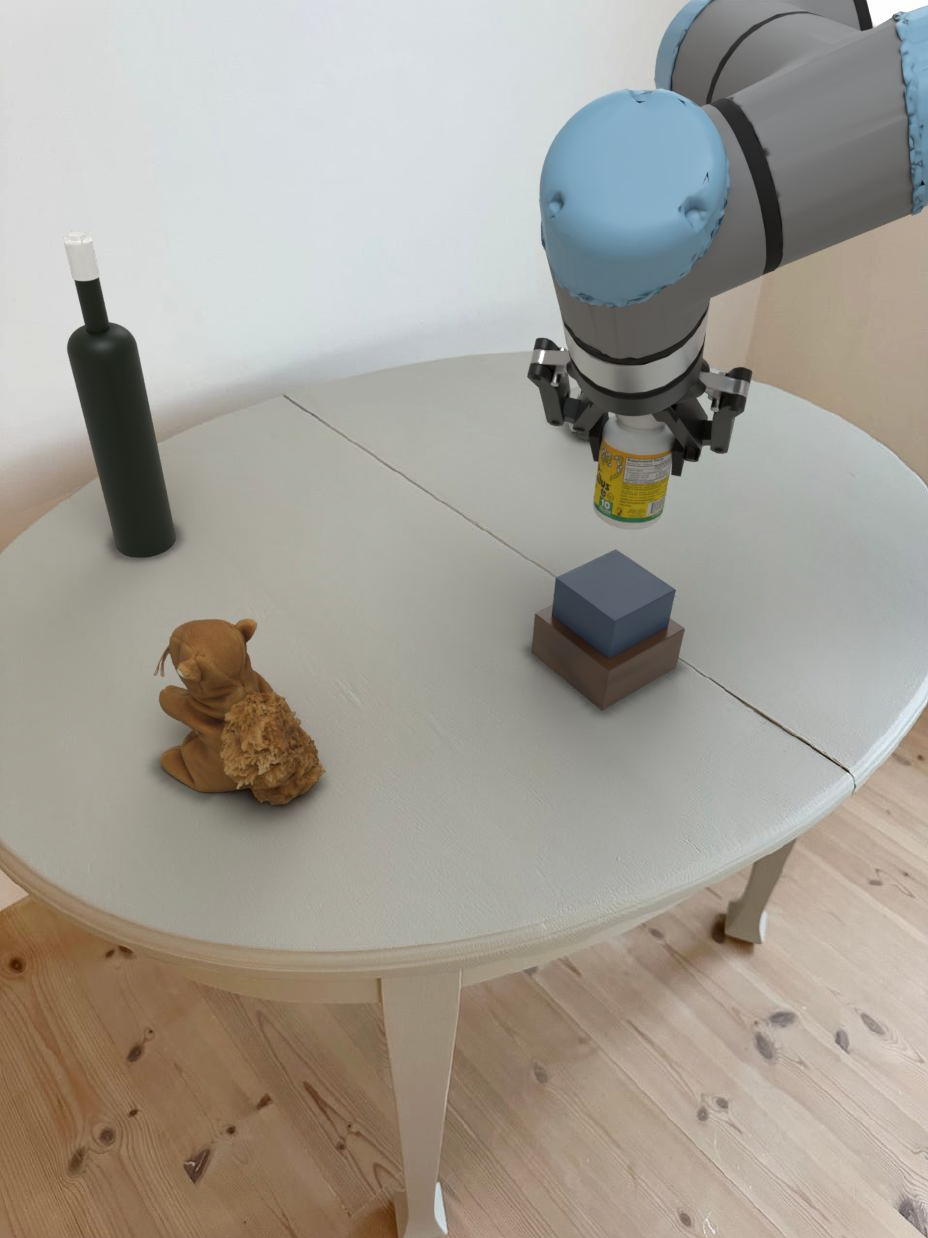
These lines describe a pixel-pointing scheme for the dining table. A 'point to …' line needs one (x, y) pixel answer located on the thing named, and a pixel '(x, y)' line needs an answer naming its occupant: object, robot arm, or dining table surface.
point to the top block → (612, 603)
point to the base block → (604, 659)
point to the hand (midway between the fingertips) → (640, 452)
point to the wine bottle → (117, 415)
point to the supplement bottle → (633, 471)
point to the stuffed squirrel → (232, 718)
